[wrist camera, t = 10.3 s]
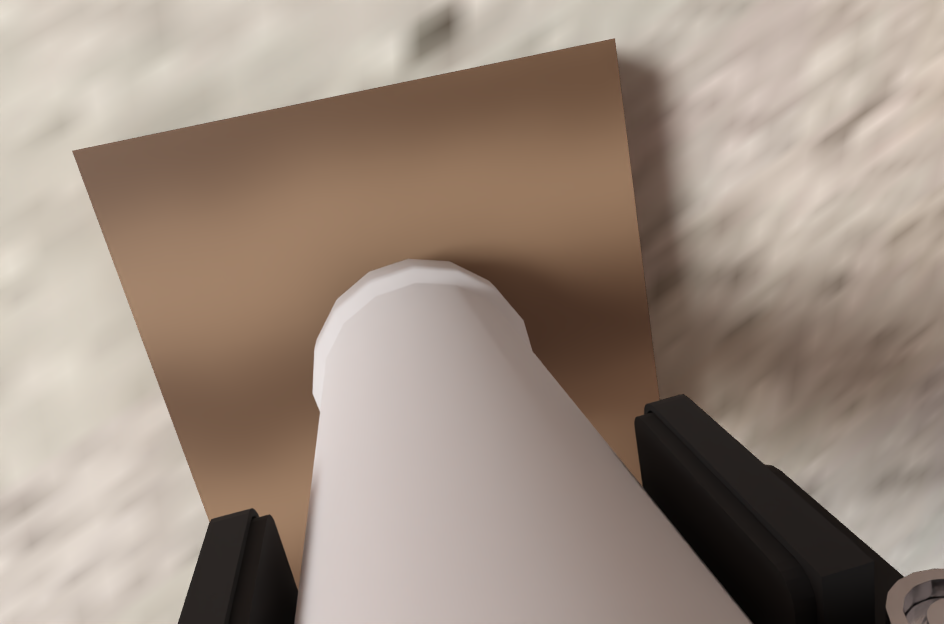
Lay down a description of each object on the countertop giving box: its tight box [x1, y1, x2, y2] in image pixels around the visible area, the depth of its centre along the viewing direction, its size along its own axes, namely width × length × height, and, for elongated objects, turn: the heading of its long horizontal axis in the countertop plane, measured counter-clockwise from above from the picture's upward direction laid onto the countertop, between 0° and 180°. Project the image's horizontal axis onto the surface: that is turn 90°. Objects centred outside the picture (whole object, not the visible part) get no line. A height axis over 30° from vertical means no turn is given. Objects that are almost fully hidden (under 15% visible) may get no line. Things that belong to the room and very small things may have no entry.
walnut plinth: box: [72, 39, 660, 589], centre depth 20 cm, size 13×13×3 cm
